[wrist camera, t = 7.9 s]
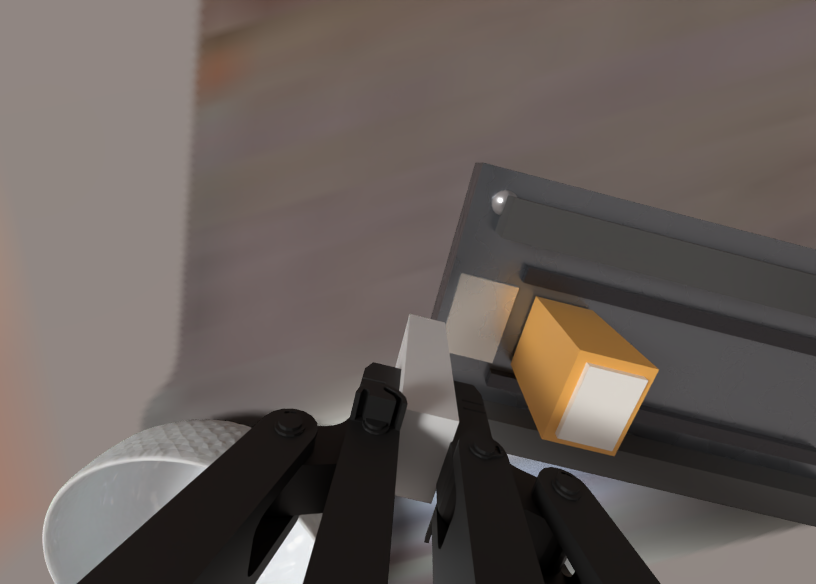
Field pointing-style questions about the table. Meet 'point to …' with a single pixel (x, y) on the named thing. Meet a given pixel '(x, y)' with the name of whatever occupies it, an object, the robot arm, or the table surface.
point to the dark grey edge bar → (664, 468)
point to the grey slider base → (640, 324)
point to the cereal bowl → (149, 499)
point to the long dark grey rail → (657, 255)
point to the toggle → (579, 376)
